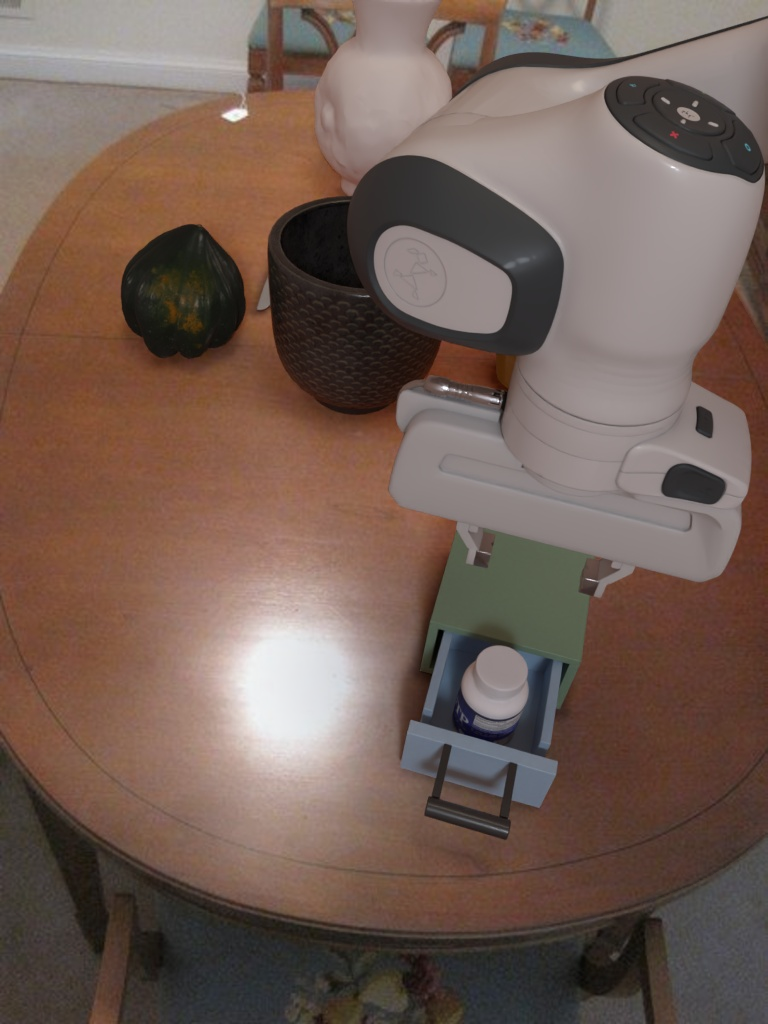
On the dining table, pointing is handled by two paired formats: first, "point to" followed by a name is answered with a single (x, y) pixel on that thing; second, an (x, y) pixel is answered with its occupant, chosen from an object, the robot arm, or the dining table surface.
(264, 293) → the butter knife
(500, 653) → the pill bottle
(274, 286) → the planter
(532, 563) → the green drawer cabinet
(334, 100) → the vase
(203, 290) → the squash
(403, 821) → the dining table surface
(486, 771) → the cabinet drawer
